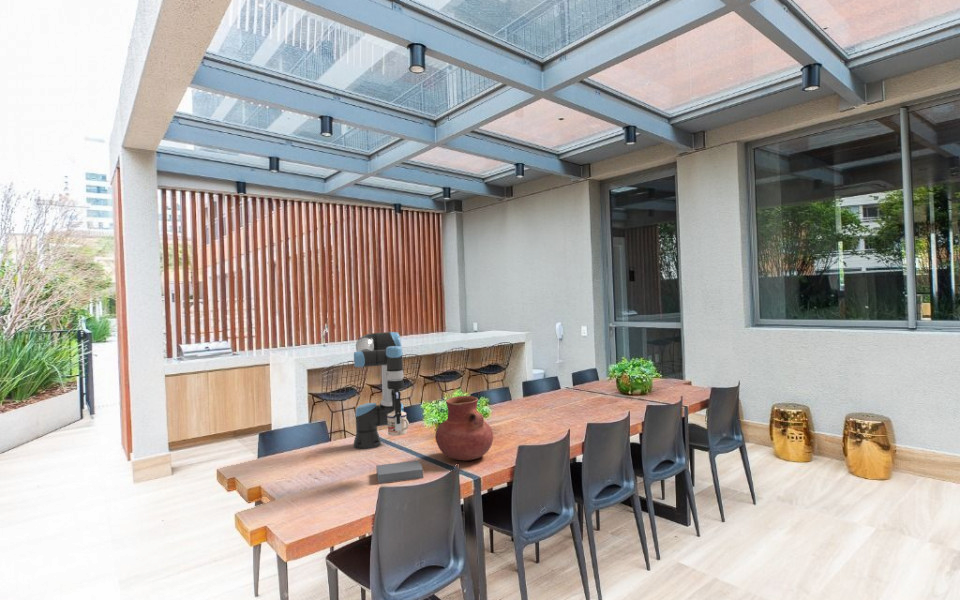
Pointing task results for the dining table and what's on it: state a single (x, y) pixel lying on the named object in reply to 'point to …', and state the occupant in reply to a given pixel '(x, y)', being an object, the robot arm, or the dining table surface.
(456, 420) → the clay pot
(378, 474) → the serving riser
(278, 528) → the dining table surface
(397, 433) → the teacup with lid
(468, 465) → the dining table surface
